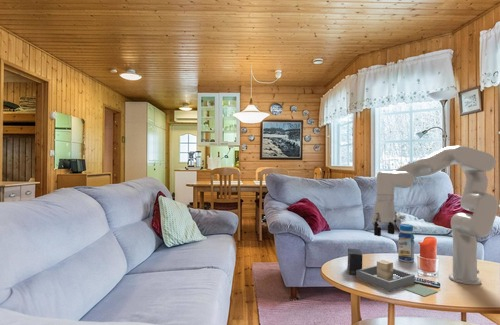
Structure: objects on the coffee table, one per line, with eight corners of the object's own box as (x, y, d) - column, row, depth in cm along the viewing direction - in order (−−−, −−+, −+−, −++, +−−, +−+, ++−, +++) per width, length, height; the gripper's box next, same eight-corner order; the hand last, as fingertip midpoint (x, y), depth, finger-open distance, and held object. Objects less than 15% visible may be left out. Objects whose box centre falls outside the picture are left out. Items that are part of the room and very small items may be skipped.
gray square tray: (380, 272, 162) (380, 264, 162) (414, 283, 146) (414, 275, 146) (356, 278, 153) (356, 270, 153) (389, 291, 137) (389, 282, 137)
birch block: (383, 274, 153) (383, 259, 153) (393, 277, 149) (393, 262, 149) (376, 276, 150) (376, 261, 150) (386, 279, 146) (386, 264, 146)
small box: (363, 276, 156) (363, 254, 157) (349, 274, 158) (349, 253, 158) (360, 269, 167) (360, 248, 167) (347, 268, 168) (347, 248, 168)
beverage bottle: (417, 262, 179) (418, 226, 179) (404, 262, 177) (404, 226, 177) (407, 257, 187) (407, 223, 187) (394, 258, 186) (394, 223, 186)
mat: (417, 284, 145) (417, 284, 145) (438, 291, 137) (438, 291, 137) (404, 289, 140) (404, 288, 140) (424, 296, 132) (424, 296, 132)
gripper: (389, 196, 157) (389, 231, 157) (366, 197, 148) (365, 234, 148) (403, 198, 151) (403, 234, 151) (379, 199, 142) (379, 238, 142)
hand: (384, 234), depth 150 cm, fingers open, 9 cm apart
